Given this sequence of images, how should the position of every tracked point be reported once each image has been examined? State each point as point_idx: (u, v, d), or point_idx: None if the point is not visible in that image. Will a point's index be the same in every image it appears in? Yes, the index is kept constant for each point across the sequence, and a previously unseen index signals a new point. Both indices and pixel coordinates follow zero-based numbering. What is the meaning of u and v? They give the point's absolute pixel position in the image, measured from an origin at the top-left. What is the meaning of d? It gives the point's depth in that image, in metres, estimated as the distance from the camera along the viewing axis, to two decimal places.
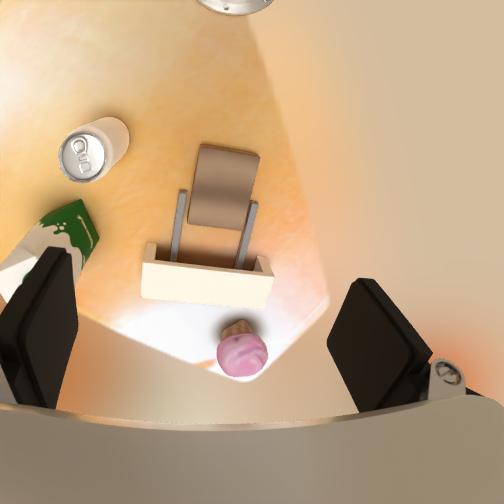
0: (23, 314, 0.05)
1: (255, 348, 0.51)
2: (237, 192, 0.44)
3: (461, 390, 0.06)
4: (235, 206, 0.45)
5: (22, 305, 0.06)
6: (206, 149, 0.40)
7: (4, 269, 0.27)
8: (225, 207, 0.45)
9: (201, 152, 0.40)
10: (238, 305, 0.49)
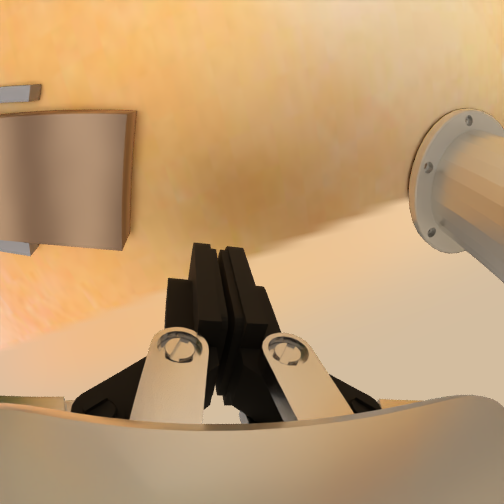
0: (218, 301, 0.08)
1: None
2: (40, 215, 0.16)
3: (315, 363, 0.07)
4: (15, 216, 0.16)
5: (210, 294, 0.08)
6: (122, 128, 0.15)
7: None
8: (8, 196, 0.15)
9: (114, 117, 0.15)
10: None
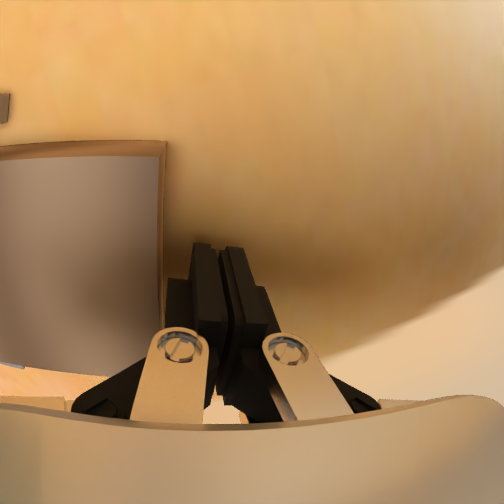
0: (218, 301, 0.08)
1: None
2: (19, 332, 0.09)
3: (315, 363, 0.07)
4: None
5: (211, 294, 0.08)
6: (151, 186, 0.08)
7: None
8: None
9: (132, 164, 0.07)
10: None
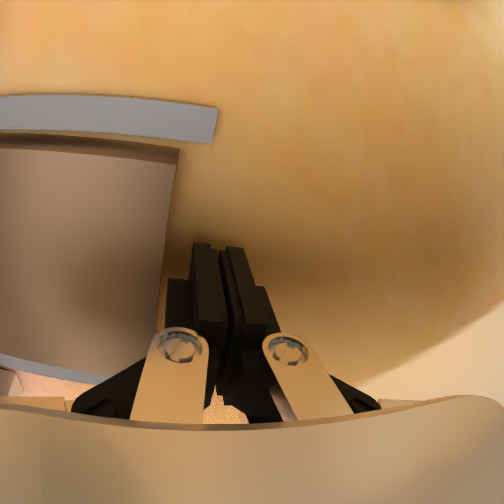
0: (218, 302, 0.08)
1: None
2: (12, 322, 0.09)
3: (316, 363, 0.07)
4: None
5: (211, 294, 0.08)
6: (165, 192, 0.08)
7: None
8: None
9: (148, 169, 0.08)
10: None
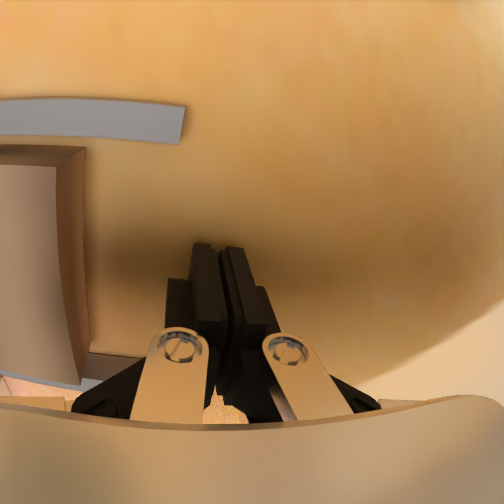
0: (218, 302, 0.08)
1: None
2: None
3: (315, 363, 0.07)
4: None
5: (211, 294, 0.08)
6: (50, 196, 0.07)
7: None
8: None
9: (33, 173, 0.06)
10: None
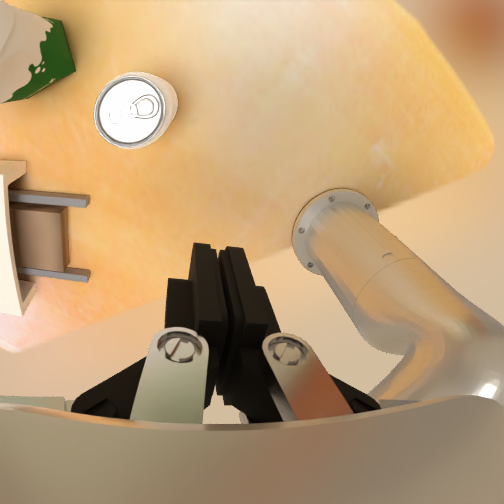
0: (218, 301, 0.08)
1: None
2: (27, 254, 0.34)
3: (316, 363, 0.07)
4: (14, 253, 0.33)
5: (211, 294, 0.08)
6: (59, 219, 0.33)
7: None
8: None
9: (55, 214, 0.32)
10: None
